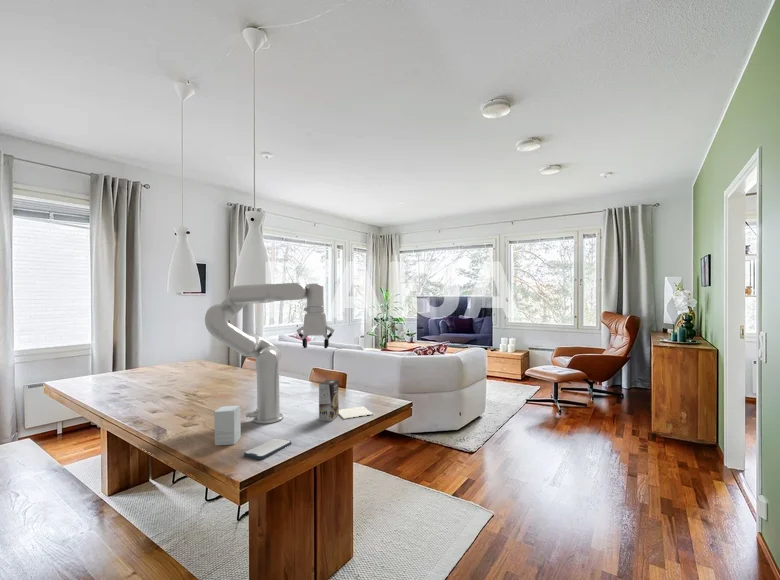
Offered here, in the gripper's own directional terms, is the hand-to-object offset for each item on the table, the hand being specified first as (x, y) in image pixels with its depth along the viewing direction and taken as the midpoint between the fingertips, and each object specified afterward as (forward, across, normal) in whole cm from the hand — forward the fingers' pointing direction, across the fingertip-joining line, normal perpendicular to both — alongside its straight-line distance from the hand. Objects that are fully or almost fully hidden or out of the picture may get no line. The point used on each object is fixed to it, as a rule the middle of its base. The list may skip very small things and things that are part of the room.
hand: (315, 347), depth 173 cm
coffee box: (+31, +6, -2) cm, 32 cm away
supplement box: (+31, -25, -31) cm, 51 cm away
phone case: (+32, -6, -38) cm, 50 cm away
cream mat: (+31, +16, +5) cm, 35 cm away
